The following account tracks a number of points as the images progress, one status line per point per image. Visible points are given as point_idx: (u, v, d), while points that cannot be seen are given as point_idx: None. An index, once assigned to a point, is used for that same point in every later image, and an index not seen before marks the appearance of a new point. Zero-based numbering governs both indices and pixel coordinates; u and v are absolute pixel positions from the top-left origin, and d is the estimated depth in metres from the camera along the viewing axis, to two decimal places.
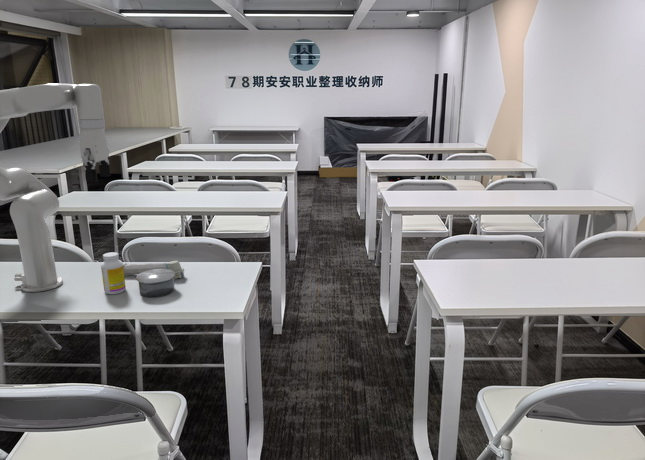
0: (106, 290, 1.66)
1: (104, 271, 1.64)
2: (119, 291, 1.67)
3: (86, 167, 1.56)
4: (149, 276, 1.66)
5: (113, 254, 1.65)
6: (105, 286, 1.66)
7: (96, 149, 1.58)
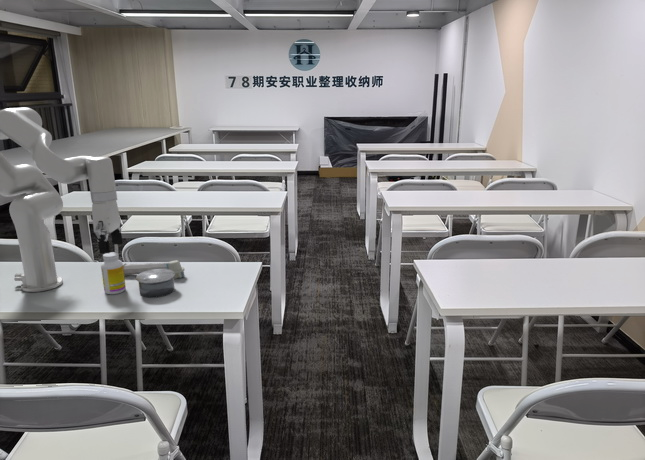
0: (106, 290, 1.66)
1: (104, 271, 1.64)
2: (119, 291, 1.67)
3: (99, 239, 1.57)
4: (149, 276, 1.66)
5: (113, 254, 1.65)
6: (105, 286, 1.66)
7: (109, 221, 1.59)
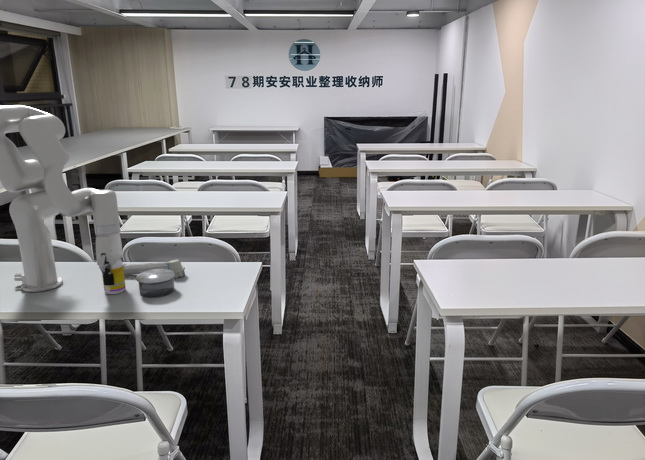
0: (106, 290, 1.66)
1: None
2: (119, 291, 1.67)
3: (104, 272, 1.62)
4: (149, 276, 1.66)
5: None
6: (105, 286, 1.66)
7: (112, 253, 1.62)
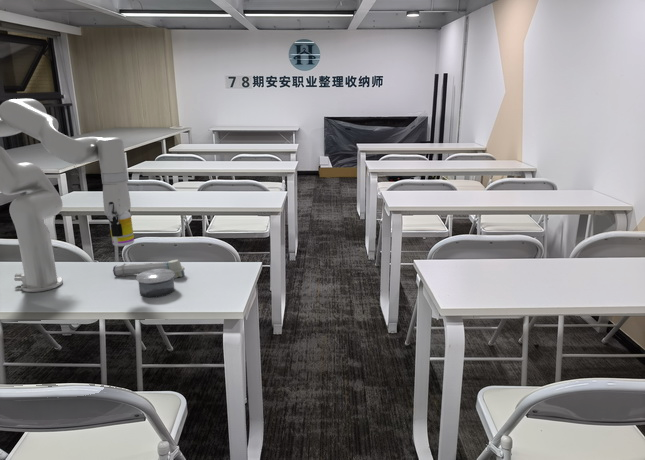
0: (114, 242, 1.61)
1: None
2: (127, 243, 1.62)
3: (111, 222, 1.57)
4: (149, 276, 1.66)
5: None
6: (113, 238, 1.61)
7: (119, 202, 1.57)
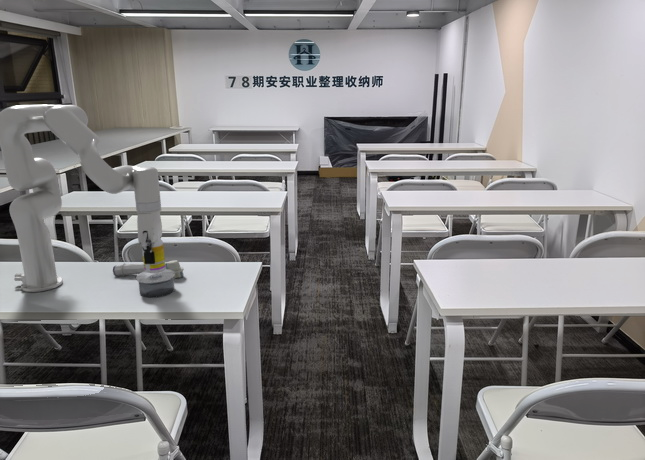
0: (146, 269, 1.64)
1: None
2: (159, 270, 1.65)
3: (145, 251, 1.59)
4: (149, 276, 1.66)
5: None
6: (145, 265, 1.64)
7: (153, 231, 1.59)
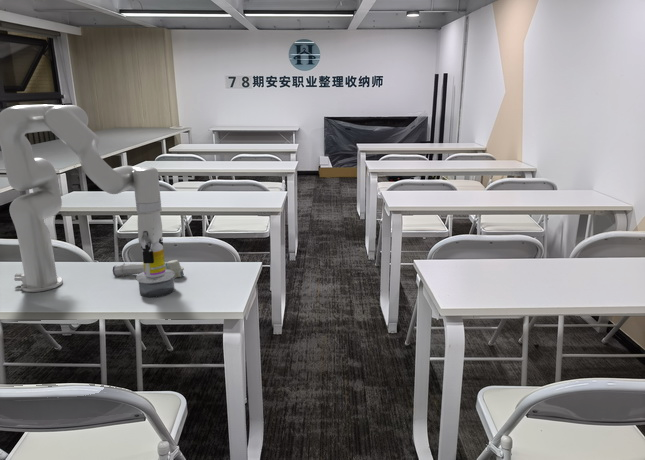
0: (146, 273, 1.64)
1: None
2: (159, 275, 1.65)
3: (144, 250, 1.58)
4: None
5: None
6: (146, 269, 1.64)
7: (154, 231, 1.59)
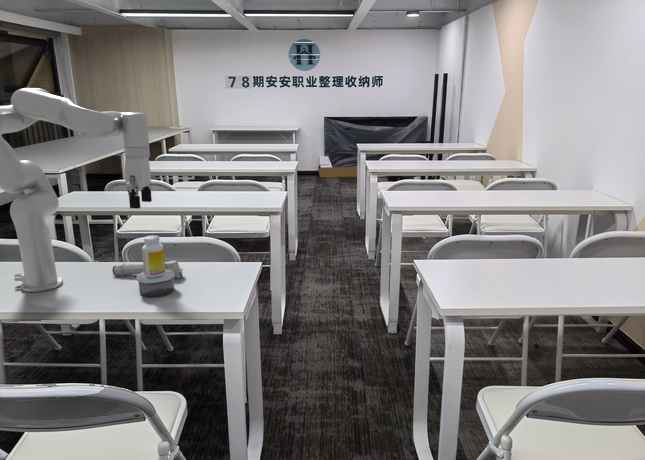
0: (146, 273, 1.64)
1: (145, 254, 1.62)
2: (159, 275, 1.65)
3: (130, 194, 1.59)
4: None
5: (154, 237, 1.63)
6: (145, 269, 1.64)
7: (141, 176, 1.60)
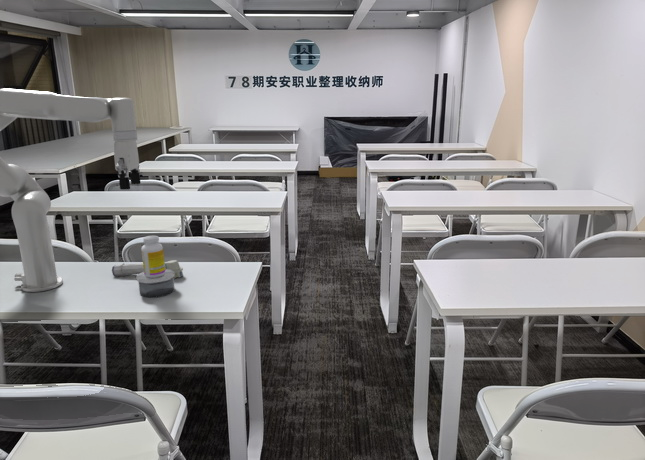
0: (146, 273, 1.64)
1: (145, 254, 1.62)
2: (159, 275, 1.65)
3: (120, 175, 1.67)
4: None
5: (153, 238, 1.63)
6: (145, 269, 1.64)
7: (129, 158, 1.68)
